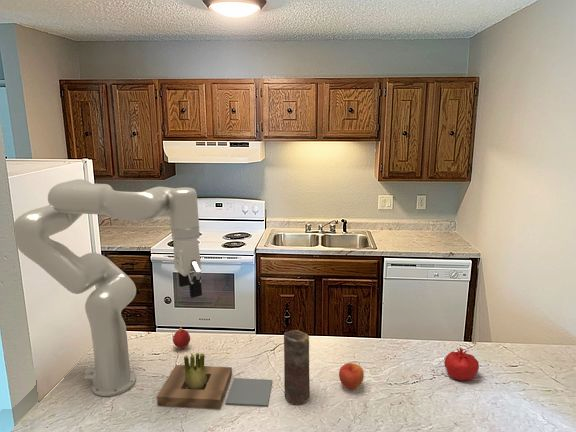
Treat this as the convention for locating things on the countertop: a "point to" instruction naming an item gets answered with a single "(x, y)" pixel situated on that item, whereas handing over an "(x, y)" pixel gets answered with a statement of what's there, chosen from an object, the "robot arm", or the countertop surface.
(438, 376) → the countertop surface
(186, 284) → the robot arm
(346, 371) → the apple
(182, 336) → the red ovoid
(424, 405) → the countertop surface
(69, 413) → the countertop surface
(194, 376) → the fennel bulb
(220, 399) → the pocket holder
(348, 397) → the countertop surface
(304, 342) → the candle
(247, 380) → the mat
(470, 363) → the pomegranate
